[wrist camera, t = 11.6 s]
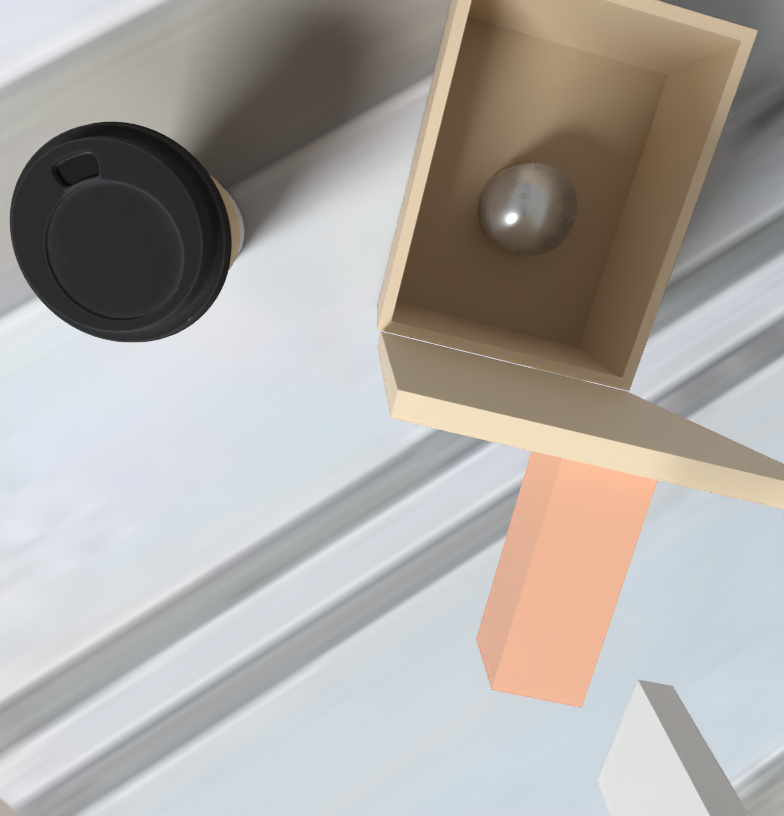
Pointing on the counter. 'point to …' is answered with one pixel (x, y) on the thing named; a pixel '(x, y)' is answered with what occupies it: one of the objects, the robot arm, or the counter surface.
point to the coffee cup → (123, 232)
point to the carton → (577, 159)
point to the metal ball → (528, 208)
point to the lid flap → (564, 498)
